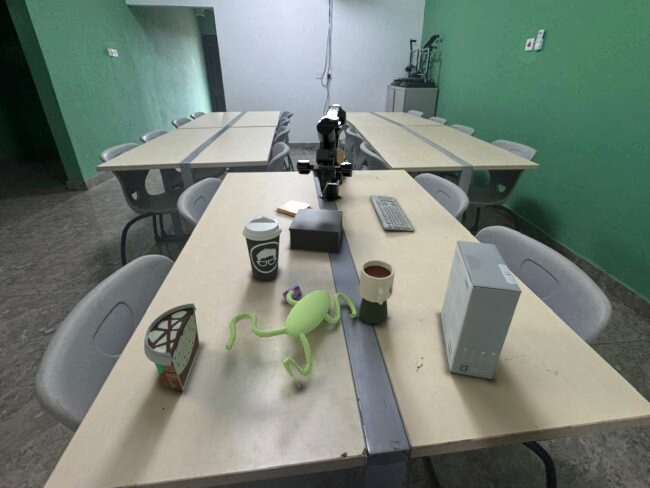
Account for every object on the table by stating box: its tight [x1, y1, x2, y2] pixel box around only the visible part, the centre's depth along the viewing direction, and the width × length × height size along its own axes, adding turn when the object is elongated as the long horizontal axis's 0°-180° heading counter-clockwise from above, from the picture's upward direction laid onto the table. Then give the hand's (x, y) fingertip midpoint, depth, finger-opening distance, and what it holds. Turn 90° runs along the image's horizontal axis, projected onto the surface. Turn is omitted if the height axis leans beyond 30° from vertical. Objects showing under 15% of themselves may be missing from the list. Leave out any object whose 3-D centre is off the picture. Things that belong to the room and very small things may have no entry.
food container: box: [143, 303, 201, 392], centre depth 56 cm, size 12×6×10 cm, turn 5°
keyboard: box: [369, 194, 414, 232], centre depth 121 cm, size 29×10×2 cm, turn 4°
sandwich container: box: [337, 149, 346, 178], centre depth 160 cm, size 9×15×15 cm, turn 172°
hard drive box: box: [440, 240, 523, 380], centre depth 61 cm, size 16×8×20 cm, turn 170°
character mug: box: [358, 259, 396, 325], centre depth 68 cm, size 11×7×13 cm, turn 4°
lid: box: [288, 208, 344, 234], centre depth 98 cm, size 15×15×1 cm
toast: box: [276, 199, 311, 217], centre depth 121 cm, size 9×9×2 cm
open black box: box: [289, 213, 344, 254], centre depth 100 cm, size 14×15×7 cm
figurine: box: [225, 283, 358, 388], centre depth 66 cm, size 18×27×6 cm
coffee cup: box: [242, 216, 283, 282], centre depth 81 cm, size 10×10×15 cm
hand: (322, 191), depth 105 cm, fingers closed
